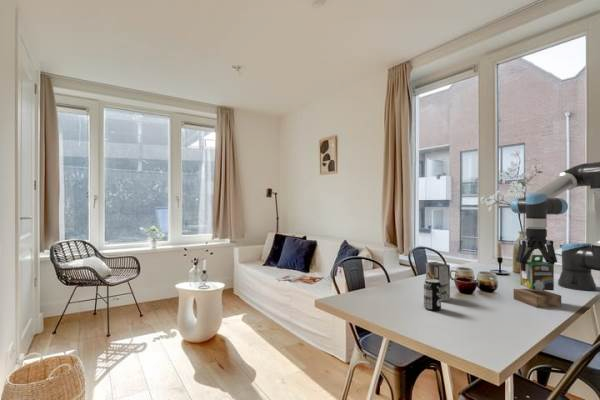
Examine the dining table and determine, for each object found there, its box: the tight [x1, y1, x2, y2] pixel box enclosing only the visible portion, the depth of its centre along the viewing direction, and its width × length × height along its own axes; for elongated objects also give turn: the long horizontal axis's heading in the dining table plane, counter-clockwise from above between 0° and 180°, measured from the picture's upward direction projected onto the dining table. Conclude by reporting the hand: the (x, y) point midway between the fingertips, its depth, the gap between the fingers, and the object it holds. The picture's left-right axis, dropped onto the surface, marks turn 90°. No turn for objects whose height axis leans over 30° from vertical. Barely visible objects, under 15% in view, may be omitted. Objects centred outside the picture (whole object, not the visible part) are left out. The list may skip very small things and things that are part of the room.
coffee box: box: [425, 261, 451, 302], centre depth 147 cm, size 9×6×16 cm
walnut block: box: [513, 288, 562, 309], centre depth 140 cm, size 12×12×5 cm
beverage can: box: [423, 278, 442, 312], centre depth 132 cm, size 7×7×12 cm
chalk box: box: [519, 254, 555, 291], centre depth 140 cm, size 9×9×15 cm
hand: (536, 278), depth 140 cm, fingers closed on chalk box, 9 cm apart
